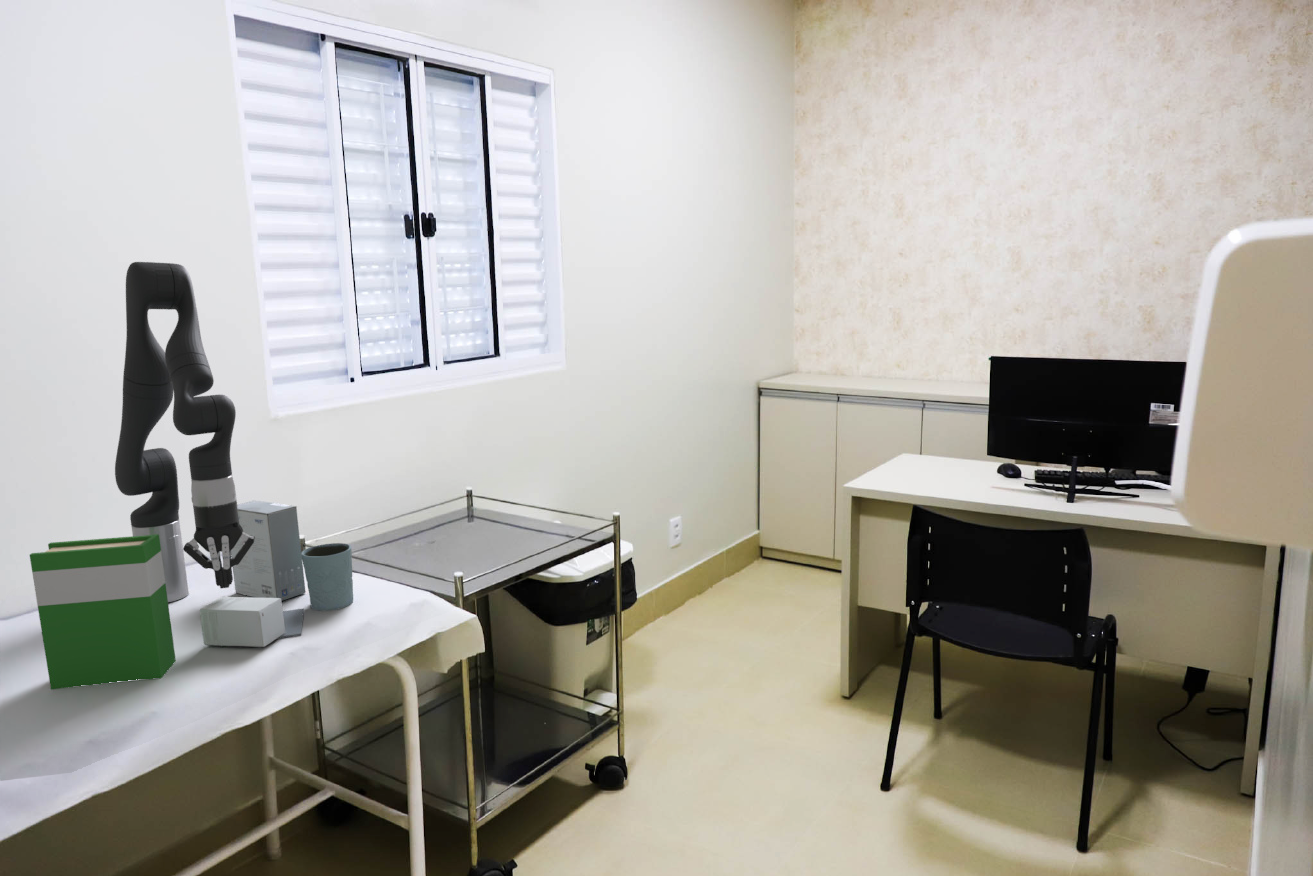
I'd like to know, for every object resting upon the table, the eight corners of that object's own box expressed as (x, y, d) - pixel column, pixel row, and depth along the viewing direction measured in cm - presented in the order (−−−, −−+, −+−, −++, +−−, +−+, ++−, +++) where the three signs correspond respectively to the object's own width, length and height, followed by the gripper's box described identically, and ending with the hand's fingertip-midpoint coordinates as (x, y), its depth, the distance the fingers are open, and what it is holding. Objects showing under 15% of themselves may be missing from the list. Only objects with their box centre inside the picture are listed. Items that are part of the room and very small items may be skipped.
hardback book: (50, 689, 155) (29, 554, 151) (70, 671, 163) (50, 542, 159) (161, 678, 158) (143, 545, 154) (175, 661, 166) (158, 534, 162)
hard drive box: (307, 593, 200) (298, 505, 197) (276, 604, 194) (266, 514, 191) (264, 583, 209) (254, 499, 205) (233, 593, 202) (223, 506, 199)
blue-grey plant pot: (328, 614, 187) (323, 558, 185) (296, 607, 192) (290, 553, 190) (366, 599, 195) (361, 545, 193) (334, 592, 200) (329, 540, 198)
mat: (230, 620, 185) (230, 618, 185) (303, 610, 190) (303, 608, 190) (222, 647, 171) (221, 645, 171) (301, 635, 176) (300, 633, 176)
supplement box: (203, 646, 171) (263, 648, 169) (198, 608, 170) (259, 610, 168) (228, 631, 178) (286, 633, 176) (224, 595, 177) (282, 597, 175)
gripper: (254, 492, 178) (263, 576, 181) (179, 499, 174) (190, 585, 177) (250, 500, 171) (260, 588, 174) (172, 508, 167) (184, 598, 170)
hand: (224, 586), depth 176 cm, fingers closed
